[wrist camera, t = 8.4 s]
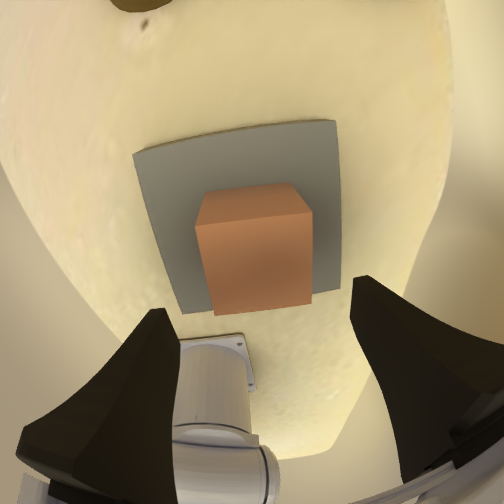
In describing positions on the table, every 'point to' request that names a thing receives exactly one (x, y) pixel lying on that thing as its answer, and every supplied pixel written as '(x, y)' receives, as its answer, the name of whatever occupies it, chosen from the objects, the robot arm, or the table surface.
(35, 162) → the table surface
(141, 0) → the cork
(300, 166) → the grey square plate
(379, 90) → the table surface
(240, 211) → the terracotta cube
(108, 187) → the table surface
